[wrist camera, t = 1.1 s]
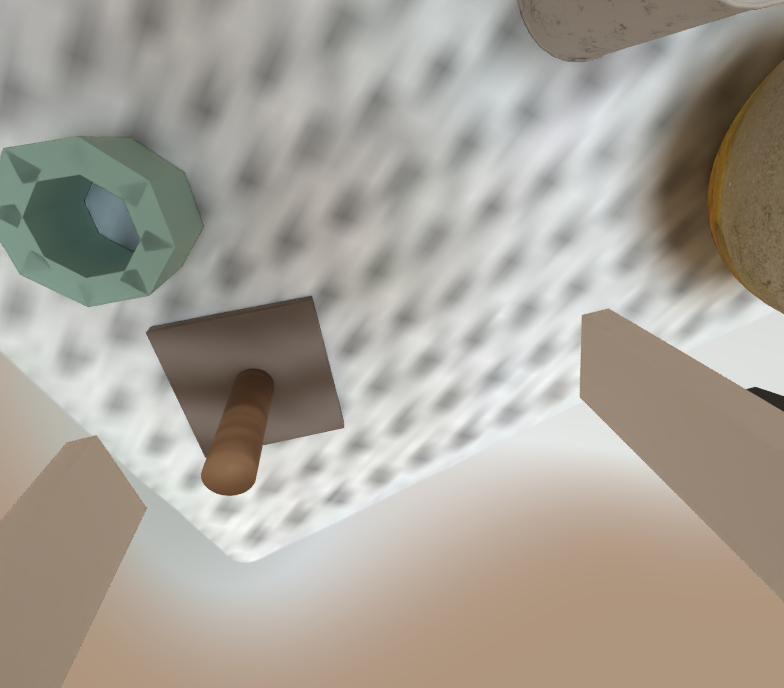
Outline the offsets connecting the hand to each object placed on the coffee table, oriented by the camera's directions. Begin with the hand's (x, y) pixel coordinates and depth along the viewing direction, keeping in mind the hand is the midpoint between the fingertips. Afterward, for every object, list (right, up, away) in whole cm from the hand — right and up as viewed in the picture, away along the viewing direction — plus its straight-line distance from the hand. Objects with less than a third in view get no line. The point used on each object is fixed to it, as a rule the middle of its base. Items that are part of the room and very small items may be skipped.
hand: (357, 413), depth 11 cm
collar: (-16, +11, +15) cm, 25 cm away
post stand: (-10, -1, +22) cm, 24 cm away
